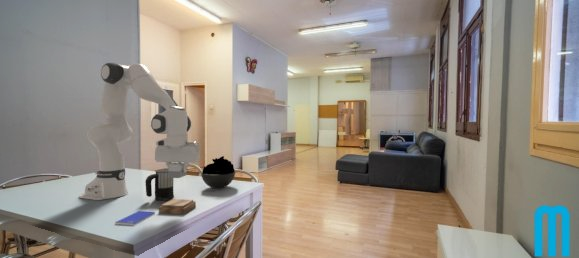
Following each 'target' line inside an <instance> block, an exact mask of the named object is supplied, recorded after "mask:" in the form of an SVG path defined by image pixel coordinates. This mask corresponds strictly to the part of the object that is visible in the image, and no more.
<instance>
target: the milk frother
mask: <svg viewBox="0 0 579 258" xmlns="http://www.w3.org/2000/svg"><path fill="white" fill-rule="evenodd" d="M154 172H155V173H152V174H150V175H148V176H147V177H146V178H145V193H146V194H145V195H146V197H148V198H149V197H150V198H151V197H152V196H153V192H152V191H153V190H152V181H153V180H154V200H156V201H165V202H168V201H170V200H172V199H174V197H175V195H174V178H169V168H161V169H157V170H154Z"/></svg>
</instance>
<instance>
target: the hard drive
mask: <svg viewBox="0 0 579 258" xmlns="http://www.w3.org/2000/svg"><path fill="white" fill-rule="evenodd" d="M155 214H156V212H155V211H146V210H145V211H143V210H138V211H136V212H134V213H132V214H130V215H128V216H125V217H123V218H121V219H119V220H116V221H115V224H114V225H119V224H121V225H119V226H136V225H138V224H140V223H141V222H143V221H145V220H146V219H149V218H151V217H152V216H154V215H155Z"/></svg>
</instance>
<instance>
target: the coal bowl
mask: <svg viewBox="0 0 579 258" xmlns="http://www.w3.org/2000/svg"><path fill="white" fill-rule="evenodd" d="M200 174H201V178H202V180H203V182H204V183H205V184H206V185H207V186H208V187H209V188H212V189H216V190H217V189H223V188H225V187H227V186H229V185H230V184H231V183H232V181H233V180H234V179H235V176H236V170H235V167H234V164H233V163H232V161H231V160H228V159H227V158H225V156H224V155H222V156H220V157H218V158H217V157H216V158H213V159H212V163H209V164H207V165H205V166H204V167H203V169H202V171H201V173H200Z"/></svg>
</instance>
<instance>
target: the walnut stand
mask: <svg viewBox="0 0 579 258" xmlns="http://www.w3.org/2000/svg"><path fill="white" fill-rule="evenodd" d="M194 208H196V200H195V201H194V199H181V198H173V199H172V200H170V201H168V202H167V201H165V202H164V203H161V205H160V206H158V213H159V214H166V215H167V214H168V215H170V214H171V215H186V214H187V213H189V212H191V211H192V210H193V209H194Z"/></svg>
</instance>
